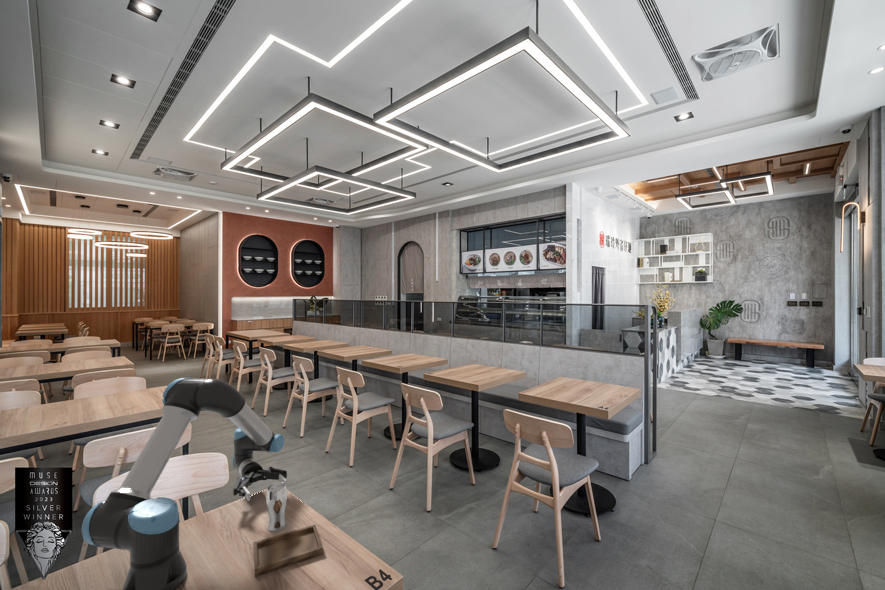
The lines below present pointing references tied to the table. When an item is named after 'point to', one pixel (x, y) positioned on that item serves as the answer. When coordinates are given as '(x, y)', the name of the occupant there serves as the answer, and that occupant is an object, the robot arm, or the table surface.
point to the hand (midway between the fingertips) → (268, 490)
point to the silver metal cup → (276, 505)
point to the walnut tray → (286, 549)
